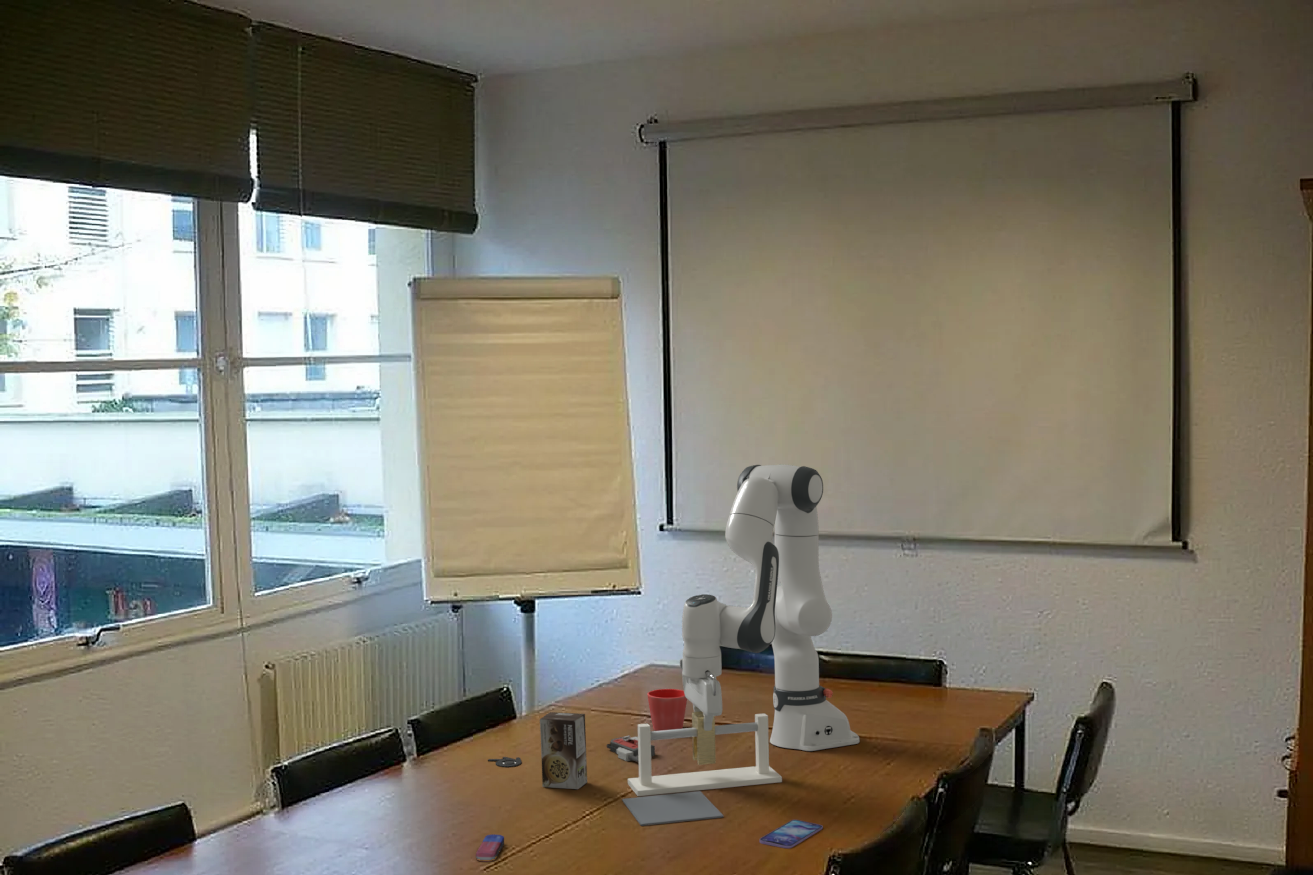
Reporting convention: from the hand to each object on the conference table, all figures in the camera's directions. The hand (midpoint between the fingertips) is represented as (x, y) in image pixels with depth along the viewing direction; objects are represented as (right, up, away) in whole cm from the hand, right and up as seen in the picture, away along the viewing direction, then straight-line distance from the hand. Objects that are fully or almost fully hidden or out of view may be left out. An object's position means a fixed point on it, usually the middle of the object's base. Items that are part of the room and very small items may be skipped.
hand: (703, 726), depth 327 cm
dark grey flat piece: (-50, -14, +23) cm, 57 cm away
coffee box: (-32, -14, +2) cm, 35 cm away
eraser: (-44, -17, -42) cm, 63 cm away
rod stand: (0, -13, +1) cm, 13 cm away
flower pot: (-8, -11, +49) cm, 51 cm away
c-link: (0, -8, 0) cm, 8 cm away
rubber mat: (-8, -14, -18) cm, 24 cm away
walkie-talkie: (-16, -13, +24) cm, 31 cm away
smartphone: (+17, -15, -36) cm, 43 cm away
